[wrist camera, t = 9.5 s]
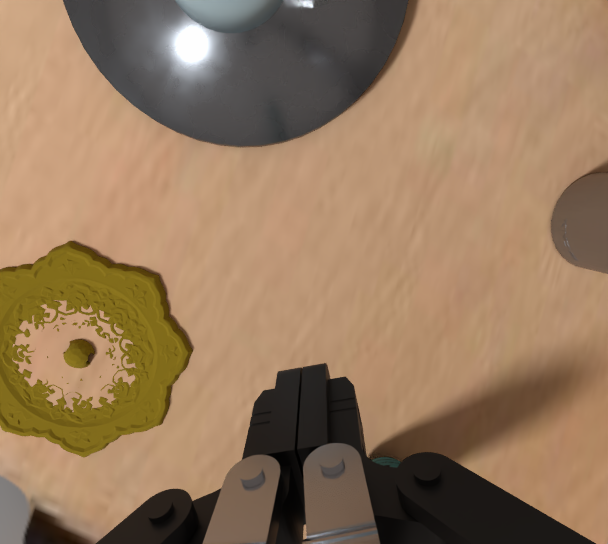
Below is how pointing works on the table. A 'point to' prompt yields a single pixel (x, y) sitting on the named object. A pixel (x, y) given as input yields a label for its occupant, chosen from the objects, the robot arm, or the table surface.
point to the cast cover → (229, 13)
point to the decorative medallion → (89, 347)
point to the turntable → (240, 64)
